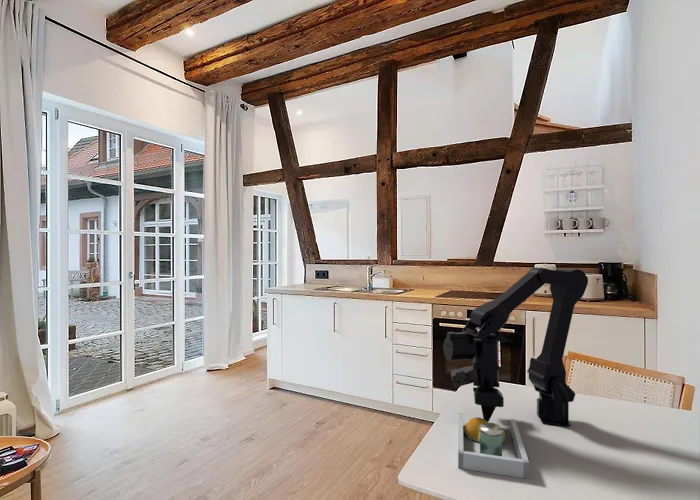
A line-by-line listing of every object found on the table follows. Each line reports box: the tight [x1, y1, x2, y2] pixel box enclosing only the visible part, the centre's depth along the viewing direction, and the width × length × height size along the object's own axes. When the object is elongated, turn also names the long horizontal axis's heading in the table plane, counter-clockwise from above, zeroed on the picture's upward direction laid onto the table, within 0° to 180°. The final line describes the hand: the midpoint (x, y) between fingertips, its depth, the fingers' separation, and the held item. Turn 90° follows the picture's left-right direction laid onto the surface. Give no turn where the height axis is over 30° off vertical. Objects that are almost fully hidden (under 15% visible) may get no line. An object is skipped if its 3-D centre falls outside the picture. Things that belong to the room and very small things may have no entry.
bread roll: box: [463, 416, 506, 444], centre depth 89 cm, size 8×9×4 cm
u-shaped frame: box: [457, 412, 530, 480], centre depth 84 cm, size 13×20×3 cm, turn 164°
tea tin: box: [479, 422, 504, 457], centre depth 80 cm, size 5×5×6 cm
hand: (486, 421), depth 96 cm, fingers closed
